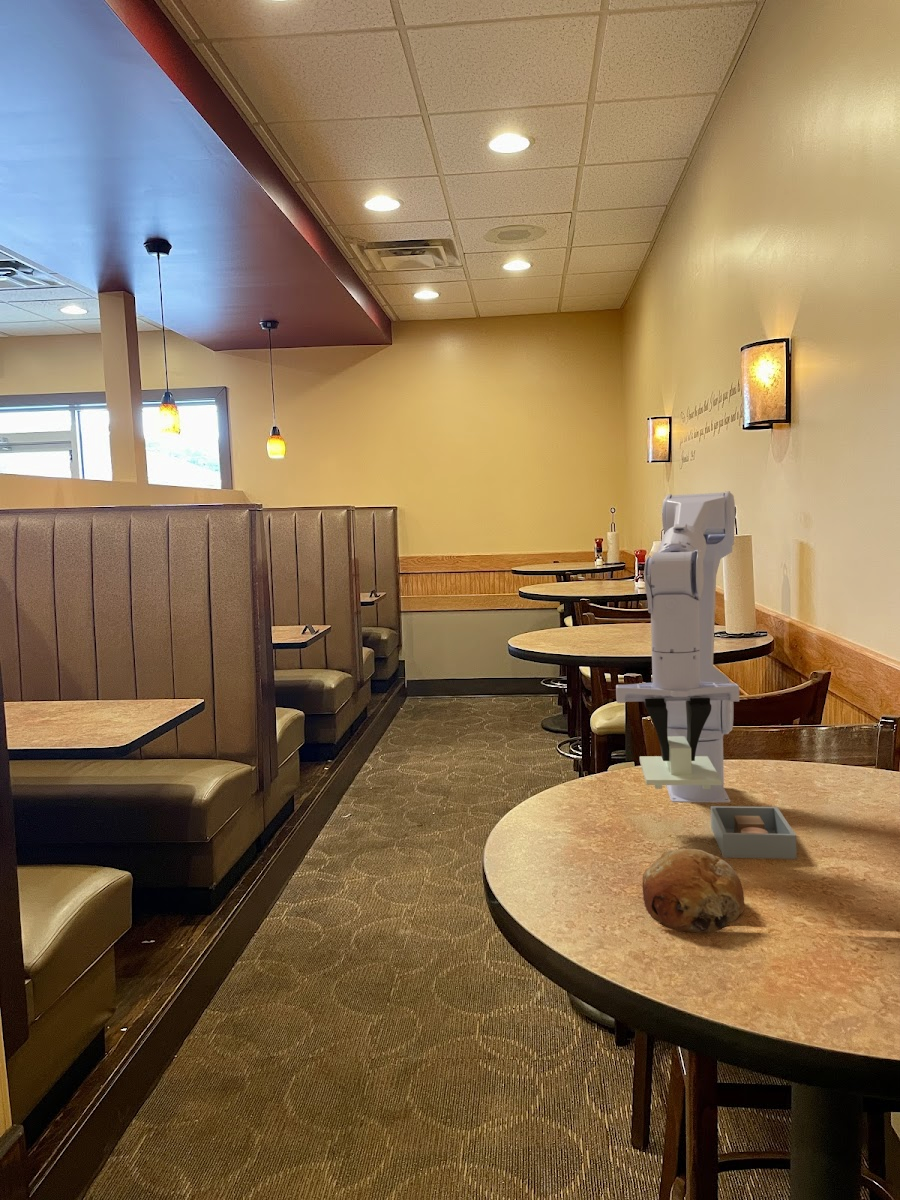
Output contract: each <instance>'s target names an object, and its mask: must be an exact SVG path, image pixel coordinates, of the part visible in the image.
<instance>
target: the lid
mask: <svg viewBox="0 0 900 1200" xmlns="http://www.w3.org/2000/svg"><path fill="white" fill-rule="evenodd" d="M667 737H668V747H669V761H663V759H662V755H660V756H659V755H658V756H657V755H654V756H652V755H651V756H648V755H647V756H646V755H645V756H641V755H640V756H639V763H640V767H641V771H642V775H643V778H644V780H645V785H646V786H654V788H655V790H662V789H663V786H666V785H703V789H711V785H722V780H721V778H720V777H719V775H718V773H717V771H716V770H715V768H714V766H713V765H712V763H711V761H710V759H709V758H708V756H695V761H691V747H690V745H689V743H688V741H687V740H686V738H685V736H667Z"/></svg>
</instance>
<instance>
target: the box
mask: <svg viewBox="0 0 900 1200" xmlns="http://www.w3.org/2000/svg"><path fill="white" fill-rule="evenodd" d="M734 816H760V818H761V819H762V821H763V823H764V830H766V831H768V833H734ZM710 828H711V831H712V833H713V836H714V838H715V840H716V843H717V845H718V846H717V847H718V848H719V851H720V853H721V856H722V859H723V858H724V859H727V858H729V859H763V860H764V859H765V860H766V859H767V860H768V859H769V860H771V859H774V860H776V859H777V860H782V859H783V860H797V859H798V857H797V855H798V853H797V834H796V833H795V831H794V830H793V828H792V827H791V825H790V824H789V822H788V821H787V819H786V818H785V816H784V815H783V813H782V812H781V810H780V809H779V807H778V806H738V805H737V806H730V805H729V806H727V805H726V806H722V805H721V806H720V805H717V806H716V805H715V806H714V805H711V806H710Z"/></svg>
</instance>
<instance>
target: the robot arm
mask: <svg viewBox="0 0 900 1200" xmlns="http://www.w3.org/2000/svg"><path fill="white" fill-rule="evenodd" d="M661 517H662V518H661V519H662V520H661V521H662V528H663V532H664V534H663V536H662V538H661V541H660V543H659V546H658V549H657V552H653V553H652V556H651V557H650V556H647V557H646V559H645V564H644V570H643V572H644V573H643V575H644V577H643V578H644V579H643V580H644V587H645V593H646V598H647V611H648V613H649V614H650V634H651V635H650V636H651V639H650V640H651V641H650V642H651V669H652V670H651V673H652V674H651V676H652V679H651V680H652V682H642V683H630V684H629V683H628V684H616V685H615V697H616V698H615V699H616V703H617V704H624V703H625V704H626V702H629V703H631V702H632V703H633V702H635V703H636V702H643V704H644V707H645V709H646V711H647V714H648V715H649V717H650V719H651V721H652V723H653V724H652V725H653V726H654V729H655V731H656V735H657V738H658V742H659V747H660V752H661V756H662V759H663V761H669V747H668V737H667V736H685V738H686V740H687V741H688V743H689V745H690V747H691V761H695V756H708V758H709V759H710V761H711V763H712V765H713V766H714V768H715V770H716V771H717V773H718V775H719V777H720V778H721V780H722V785H711V789H703V785H665V787H666V790H667V792H668V796H669V799H670V802H672V803H712V804H713V803H715V804H716V803H718V804H719V803H723V804H725V803H726V804H728V803H731V799H730V796H729V795H728V793H727V791H726V789H725V785H724V783H725V781H724V780H725V779H724V776H725V775H724V771H725V770H724V735H729V734H730V732H732V730H733V727H734V702H740V686H739V684H737V683H736V682H731V680H730V678H729V677H728V676H727V675H726V674H725V673H723V672H721V670H719V669H718V668H716V666H714V652H715V651H714V650H715V647H714V646H715V643H714V642H715V624H716V623H715V621H716V617H715V616H716V615H715V614H716V593H717V592H716V590H717V589H716V588H717V574H718V569H719V566H720V563H721V559H722V558H725V557H726V556H729V554H731V553H733V546H734V545H735V525H736V505H735V496H734V494H733V493H731V491H730V490H727V491H726V490H725V492H709V493H691V494H690V493H689V494H688V493H687V494H674V495H672V494H667V495H666V497H664V499H663V500H662V508H661Z"/></svg>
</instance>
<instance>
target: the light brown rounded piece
mask: <svg viewBox="0 0 900 1200" xmlns="http://www.w3.org/2000/svg"><path fill="white" fill-rule="evenodd" d="M741 833H768V831H766V830H764V829H761V828H756V827H747V828H743V829H742V830H741Z"/></svg>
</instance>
